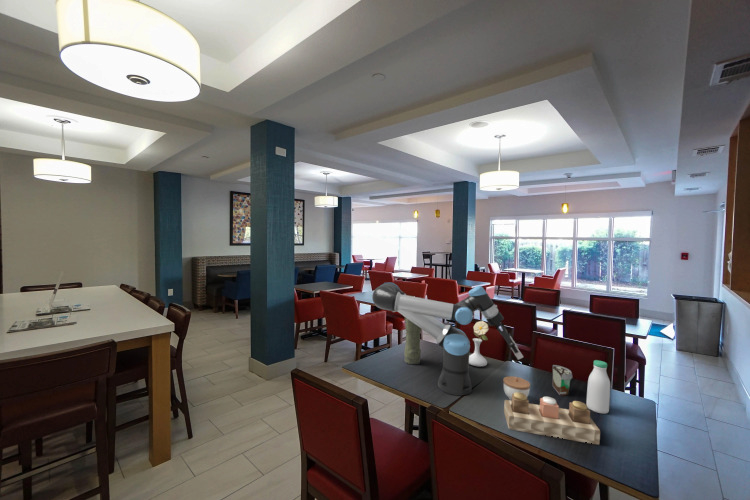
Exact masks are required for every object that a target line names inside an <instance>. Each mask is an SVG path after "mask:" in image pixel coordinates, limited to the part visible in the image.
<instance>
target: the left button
mask: <svg viewBox="0 0 750 500" xmlns="http://www.w3.org/2000/svg"><path fill="white" fill-rule="evenodd" d="M529 402H530V401H529V399H528V397H527V396H526V395H525V394H523V393H519V392H516V393H514V394H512V404H511V407H512V410H513V412H515V413H522V414H528V408H529V404H530V403H529Z"/></svg>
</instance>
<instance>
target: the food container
mask: <svg viewBox="0 0 750 500" xmlns="http://www.w3.org/2000/svg"><path fill="white" fill-rule="evenodd" d="M572 379H573V373H572V371H571V370H570V369H569V368H567V367H564V366H561V365H557V364H552V387H553V389H554V390H555V391H556V392H557V394H558V395H559V396H562V397H563V396H567V395H569V393H570V392H569V391H570V386H571V385H570V384H571V380H572Z"/></svg>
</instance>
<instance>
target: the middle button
mask: <svg viewBox="0 0 750 500" xmlns="http://www.w3.org/2000/svg"><path fill="white" fill-rule="evenodd" d="M539 405H540V413H541V415H542V417H546V418H552V419H558V413H559V408H560V406H559V405H558V403H557V400H556V398H553V397H551V396H543V397H540V398H539Z"/></svg>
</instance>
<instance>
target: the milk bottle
mask: <svg viewBox="0 0 750 500" xmlns="http://www.w3.org/2000/svg"><path fill="white" fill-rule="evenodd" d="M607 368H608V363H607V362H605V361H602V360H600V359H599V360H598V359H595V360H593V369H592V371H591V372H590V374H589V376H588V380H587V388H586V389H587V390H586V403H585V404H586V405H587V408H588V409H589V411H592V412H595V413H599V414H608V413H609V411H610V399H611V381H610V378H609V376H608V373H607Z"/></svg>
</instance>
